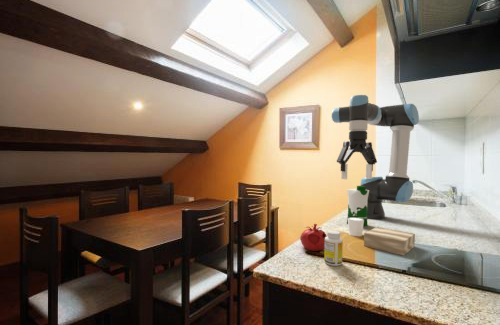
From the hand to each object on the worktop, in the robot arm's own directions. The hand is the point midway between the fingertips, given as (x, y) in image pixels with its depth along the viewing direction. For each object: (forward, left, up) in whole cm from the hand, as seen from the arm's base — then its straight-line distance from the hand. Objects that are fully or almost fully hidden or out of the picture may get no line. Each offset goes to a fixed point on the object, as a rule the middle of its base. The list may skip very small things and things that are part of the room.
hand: (356, 179), depth 122 cm
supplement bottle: (+38, +9, -25) cm, 46 cm away
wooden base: (+6, +16, -25) cm, 30 cm away
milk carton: (-18, -7, -25) cm, 32 cm away
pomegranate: (+30, -3, -25) cm, 39 cm away
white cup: (0, 0, -25) cm, 25 cm away
